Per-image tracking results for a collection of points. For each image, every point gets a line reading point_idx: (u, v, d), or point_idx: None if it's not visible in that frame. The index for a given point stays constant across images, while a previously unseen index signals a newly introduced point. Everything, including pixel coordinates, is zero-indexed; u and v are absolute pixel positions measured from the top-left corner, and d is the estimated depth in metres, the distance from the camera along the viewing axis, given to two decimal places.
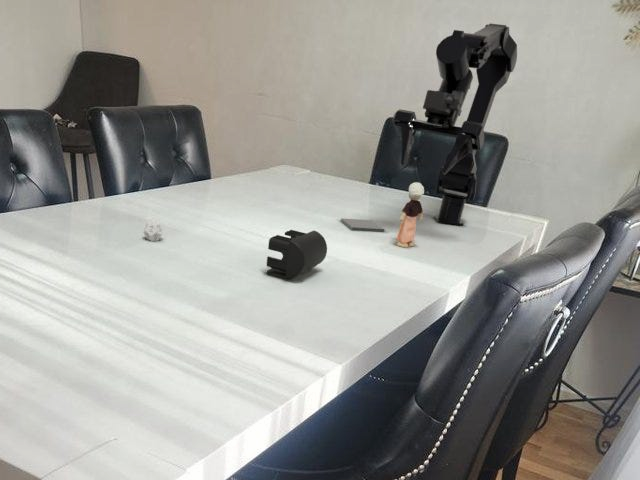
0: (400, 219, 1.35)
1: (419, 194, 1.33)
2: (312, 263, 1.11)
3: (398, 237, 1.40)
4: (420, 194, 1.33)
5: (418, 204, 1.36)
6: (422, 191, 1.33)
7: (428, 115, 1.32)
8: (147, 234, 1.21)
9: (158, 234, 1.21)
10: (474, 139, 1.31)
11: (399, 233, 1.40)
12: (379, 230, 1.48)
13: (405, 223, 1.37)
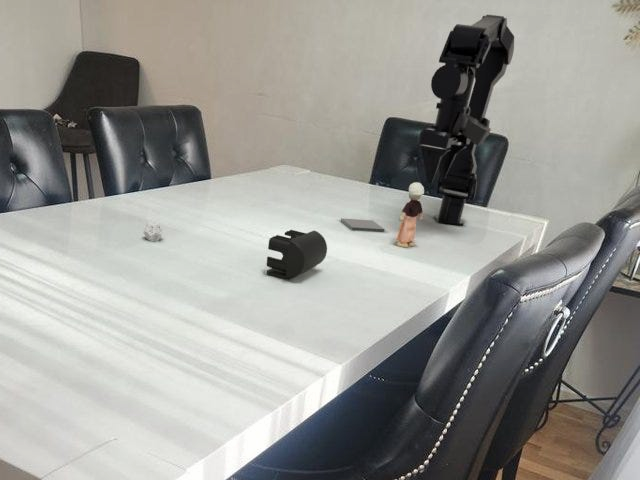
0: (400, 219, 1.35)
1: (419, 194, 1.33)
2: (312, 263, 1.11)
3: (398, 237, 1.40)
4: (420, 194, 1.33)
5: (418, 204, 1.36)
6: (422, 191, 1.33)
7: (457, 134, 1.34)
8: (147, 234, 1.21)
9: (158, 234, 1.21)
10: None
11: (399, 233, 1.40)
12: (379, 230, 1.48)
13: (405, 223, 1.37)
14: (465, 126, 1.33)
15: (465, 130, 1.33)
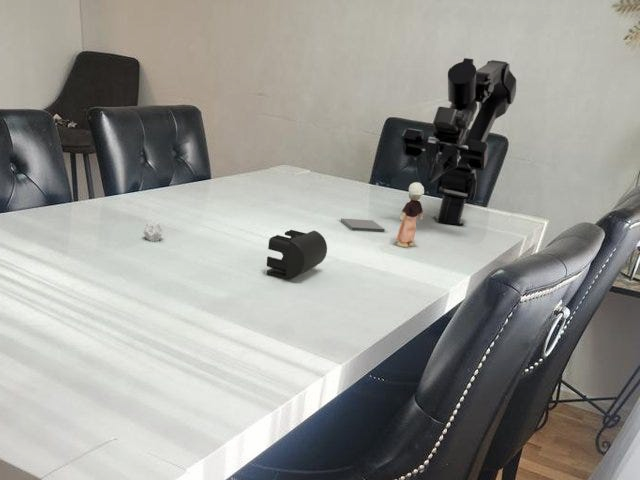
0: (400, 219, 1.35)
1: (419, 194, 1.33)
2: (312, 263, 1.11)
3: (398, 237, 1.40)
4: (420, 194, 1.33)
5: (418, 204, 1.36)
6: (422, 191, 1.33)
7: (436, 133, 1.39)
8: (147, 234, 1.21)
9: (158, 234, 1.21)
10: (459, 153, 1.39)
11: (399, 233, 1.40)
12: (379, 230, 1.48)
13: (405, 223, 1.37)
14: None
15: None
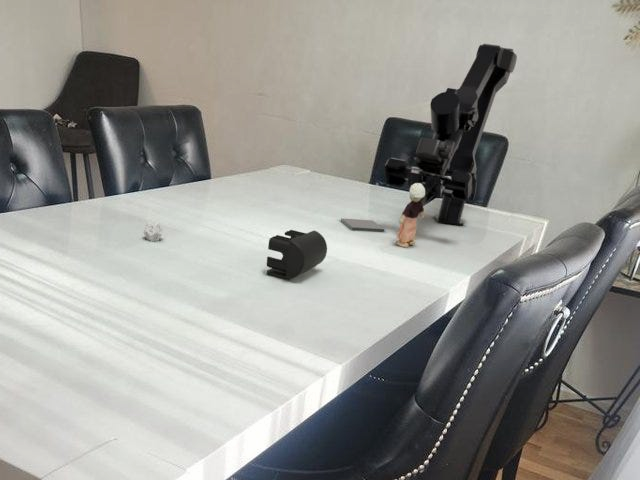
0: (400, 222, 1.34)
1: (420, 197, 1.32)
2: (312, 263, 1.11)
3: (398, 236, 1.40)
4: (421, 197, 1.32)
5: (419, 205, 1.34)
6: (423, 193, 1.32)
7: (419, 163, 1.37)
8: (147, 234, 1.21)
9: (158, 234, 1.21)
10: (442, 184, 1.37)
11: (399, 232, 1.39)
12: (379, 230, 1.48)
13: (405, 224, 1.36)
14: None
15: None
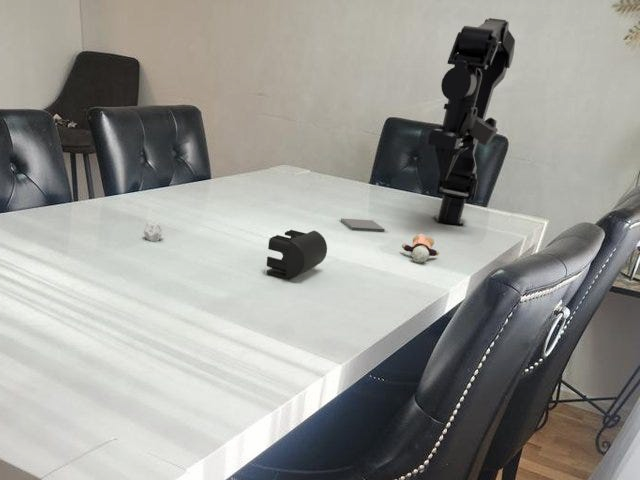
0: None
1: (414, 260, 1.30)
2: (312, 263, 1.11)
3: (419, 236, 1.36)
4: None
5: None
6: (418, 262, 1.30)
7: (464, 135, 1.36)
8: (147, 234, 1.21)
9: (158, 234, 1.21)
10: None
11: (419, 237, 1.36)
12: (379, 230, 1.48)
13: (413, 246, 1.35)
14: (472, 126, 1.34)
15: (472, 130, 1.35)
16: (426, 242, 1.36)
